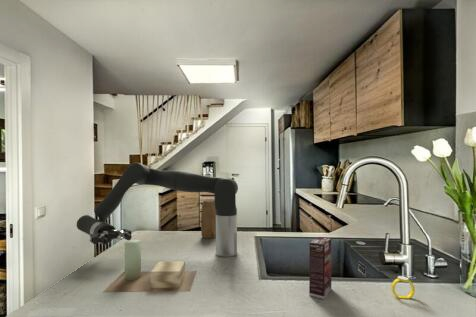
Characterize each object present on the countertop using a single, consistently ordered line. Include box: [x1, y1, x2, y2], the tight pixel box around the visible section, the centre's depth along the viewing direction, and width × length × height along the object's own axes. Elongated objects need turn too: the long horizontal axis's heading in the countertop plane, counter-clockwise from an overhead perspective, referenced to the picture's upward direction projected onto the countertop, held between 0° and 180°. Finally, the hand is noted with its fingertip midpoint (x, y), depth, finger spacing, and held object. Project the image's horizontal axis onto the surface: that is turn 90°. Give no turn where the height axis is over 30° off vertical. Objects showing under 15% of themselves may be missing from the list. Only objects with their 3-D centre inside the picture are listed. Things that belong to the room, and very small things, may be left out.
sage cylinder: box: [124, 239, 142, 280], centre depth 96 cm, size 5×5×12 cm
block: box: [200, 198, 216, 239], centre depth 154 cm, size 11×8×20 cm
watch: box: [390, 275, 416, 300], centre depth 83 cm, size 6×3×6 cm, turn 84°
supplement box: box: [308, 236, 332, 300], centre depth 87 cm, size 9×5×16 cm, turn 148°
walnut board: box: [103, 270, 197, 293], centre depth 93 cm, size 26×16×1 cm, turn 91°
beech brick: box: [150, 260, 186, 288], centre depth 92 cm, size 9×9×5 cm
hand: (118, 239), depth 105 cm, fingers open, 8 cm apart
